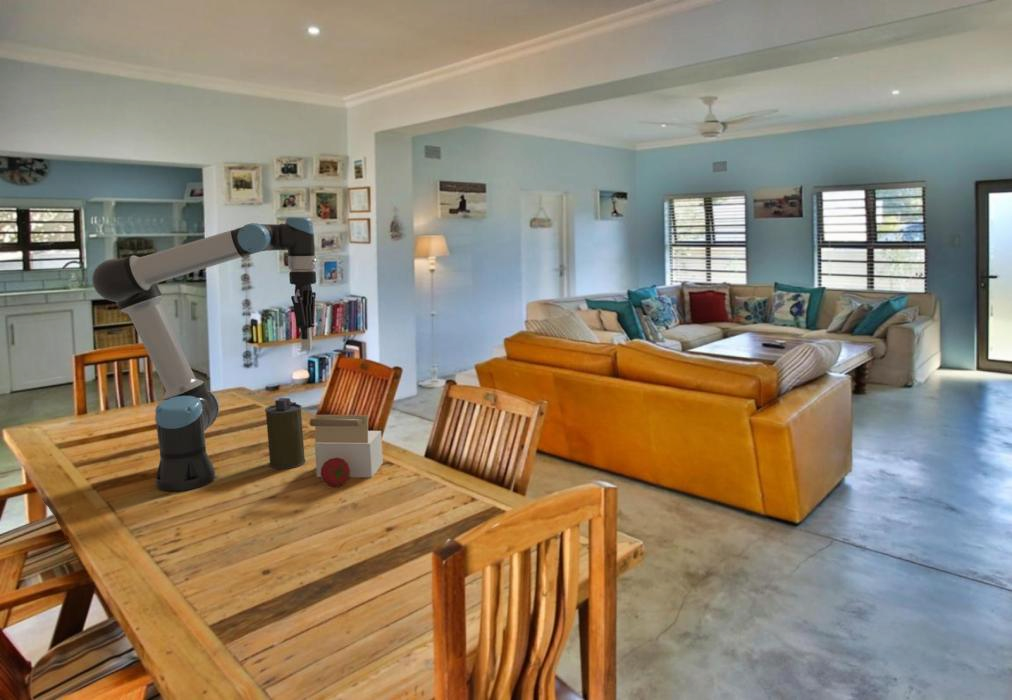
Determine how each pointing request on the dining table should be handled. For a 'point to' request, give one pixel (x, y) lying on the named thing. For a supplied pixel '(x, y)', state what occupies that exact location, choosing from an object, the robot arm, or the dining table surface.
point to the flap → (340, 428)
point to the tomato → (335, 472)
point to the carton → (353, 455)
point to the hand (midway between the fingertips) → (307, 349)
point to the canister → (285, 434)
